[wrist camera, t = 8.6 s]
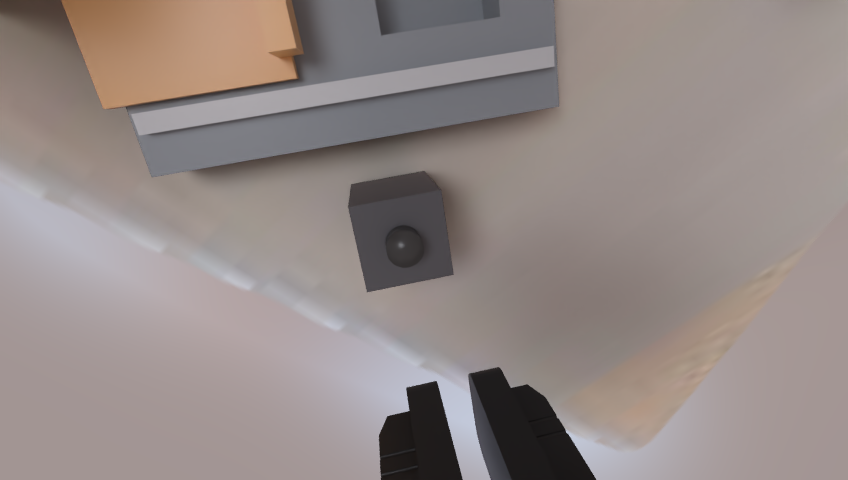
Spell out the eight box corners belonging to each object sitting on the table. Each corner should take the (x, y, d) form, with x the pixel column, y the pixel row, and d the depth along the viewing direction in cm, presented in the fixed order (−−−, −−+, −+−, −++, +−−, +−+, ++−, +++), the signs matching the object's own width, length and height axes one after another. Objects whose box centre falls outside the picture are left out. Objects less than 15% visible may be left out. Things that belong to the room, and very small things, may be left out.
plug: (351, 180, 27) (347, 213, 19) (421, 168, 28) (445, 195, 20) (366, 247, 29) (367, 302, 21) (432, 234, 29) (458, 283, 21)
